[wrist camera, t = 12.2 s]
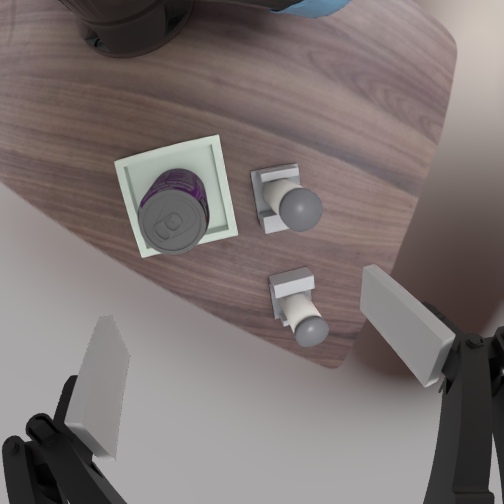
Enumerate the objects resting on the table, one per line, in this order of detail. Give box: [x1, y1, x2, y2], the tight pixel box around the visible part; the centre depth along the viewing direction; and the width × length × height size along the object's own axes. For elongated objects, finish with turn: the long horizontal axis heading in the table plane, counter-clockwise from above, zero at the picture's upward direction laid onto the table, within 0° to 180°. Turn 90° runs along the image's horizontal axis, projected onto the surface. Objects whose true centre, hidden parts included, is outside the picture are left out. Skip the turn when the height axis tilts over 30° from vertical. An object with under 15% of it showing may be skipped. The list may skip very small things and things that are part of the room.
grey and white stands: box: [250, 163, 329, 347], centre depth 39 cm, size 24×6×10 cm, turn 10°
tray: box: [114, 135, 238, 258], centre depth 36 cm, size 13×13×2 cm
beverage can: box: [137, 168, 210, 255], centre depth 31 cm, size 7×7×12 cm
